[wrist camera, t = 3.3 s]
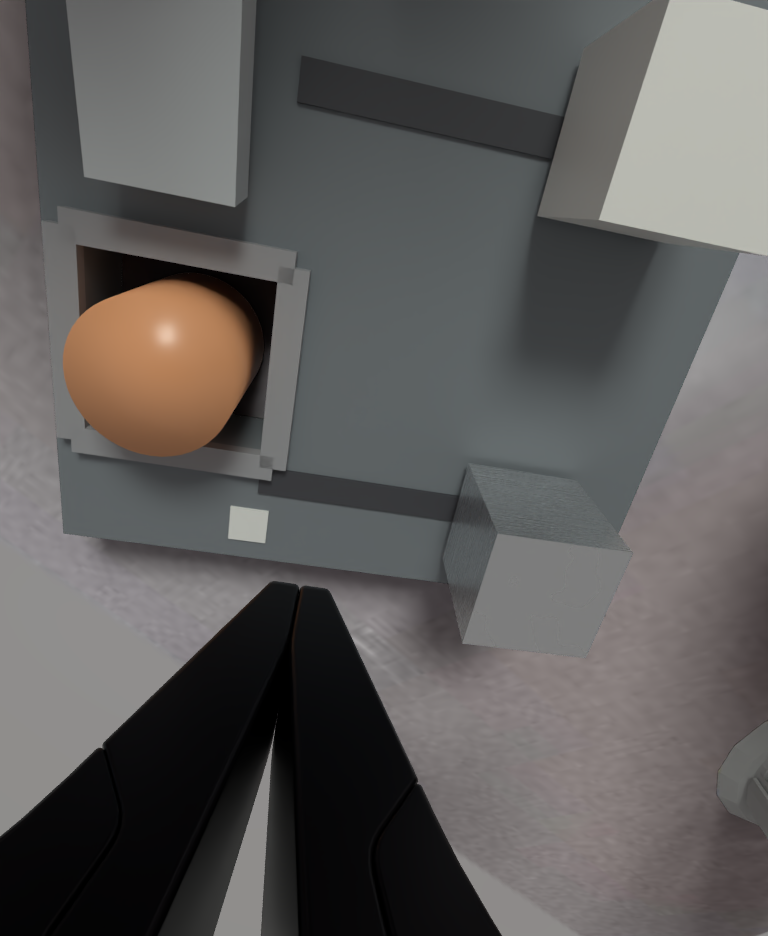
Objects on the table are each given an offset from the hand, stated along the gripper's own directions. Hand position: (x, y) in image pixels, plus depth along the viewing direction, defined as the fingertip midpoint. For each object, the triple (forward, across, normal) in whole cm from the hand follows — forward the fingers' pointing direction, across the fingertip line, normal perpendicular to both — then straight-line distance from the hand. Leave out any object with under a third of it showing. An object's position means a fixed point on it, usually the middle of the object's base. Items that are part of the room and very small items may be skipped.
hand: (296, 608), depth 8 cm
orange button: (+11, +4, -1) cm, 12 cm away
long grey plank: (+7, +4, -8) cm, 12 cm away
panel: (+12, -1, -3) cm, 12 cm away
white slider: (+9, -6, -8) cm, 13 cm away
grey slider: (+9, -6, +3) cm, 11 cm away
